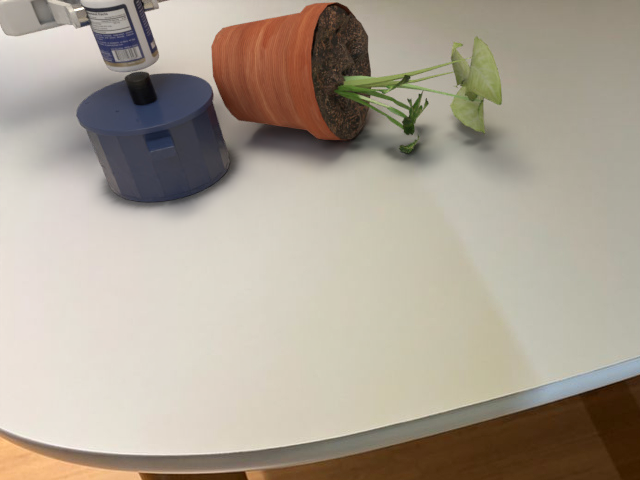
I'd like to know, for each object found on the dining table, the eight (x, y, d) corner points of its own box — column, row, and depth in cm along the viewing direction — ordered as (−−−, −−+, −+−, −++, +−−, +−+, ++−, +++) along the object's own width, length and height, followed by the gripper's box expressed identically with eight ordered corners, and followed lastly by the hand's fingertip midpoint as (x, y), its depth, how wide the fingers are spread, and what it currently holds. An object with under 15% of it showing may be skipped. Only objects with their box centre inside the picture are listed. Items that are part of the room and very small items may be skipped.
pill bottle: (133, 49, 86) (97, -50, 79) (171, 56, 84) (138, -45, 77) (95, 69, 82) (54, -33, 75) (133, 77, 80) (95, -27, 74)
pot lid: (86, 154, 76) (70, 118, 74) (76, 100, 85) (61, 66, 83) (226, 122, 80) (216, 86, 77) (203, 74, 89) (193, 40, 86)
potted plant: (228, 172, 90) (530, 177, 81) (179, 31, 80) (515, 19, 71) (289, 117, 102) (560, 116, 92) (253, -12, 92) (552, -28, 83)
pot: (119, 227, 80) (89, 158, 74) (103, 150, 92) (76, 86, 86) (245, 194, 83) (225, 127, 78) (213, 125, 95) (194, 62, 90)
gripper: (-36, -36, 81) (-13, 1, 73) (164, -76, 89) (205, -47, 80) (-6, 28, 85) (19, 70, 77) (182, -16, 93) (223, 18, 85)
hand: (116, 10), depth 79 cm, fingers closed on pill bottle, 5 cm apart
